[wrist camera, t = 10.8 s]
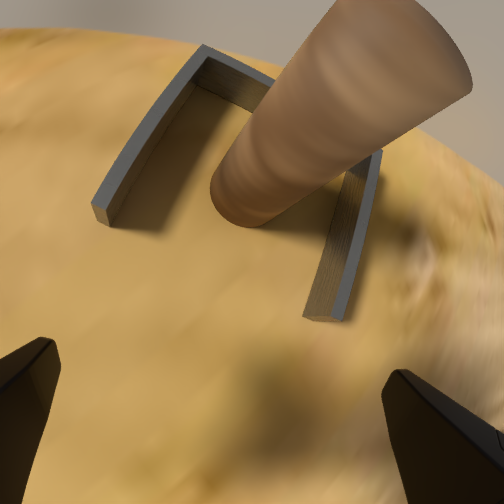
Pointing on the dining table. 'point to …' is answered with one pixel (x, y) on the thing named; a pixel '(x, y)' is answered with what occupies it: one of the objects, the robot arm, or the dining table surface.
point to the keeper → (249, 97)
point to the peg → (339, 105)
